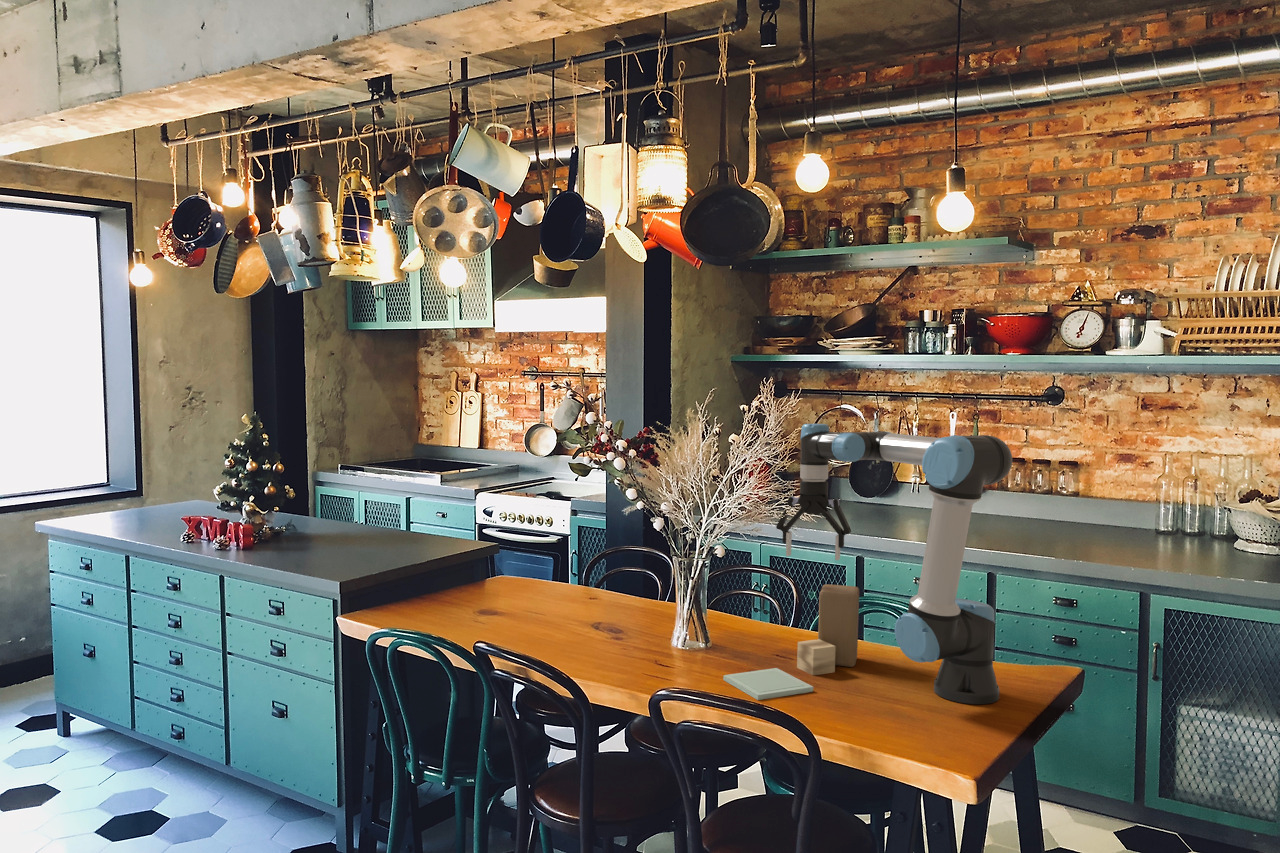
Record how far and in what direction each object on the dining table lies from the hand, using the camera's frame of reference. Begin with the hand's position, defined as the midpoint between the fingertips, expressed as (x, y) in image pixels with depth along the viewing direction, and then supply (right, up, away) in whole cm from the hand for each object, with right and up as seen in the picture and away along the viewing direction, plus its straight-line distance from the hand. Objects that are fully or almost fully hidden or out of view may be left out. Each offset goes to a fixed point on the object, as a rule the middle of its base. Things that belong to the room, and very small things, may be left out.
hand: (812, 557), depth 257 cm
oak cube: (-1, -28, -10) cm, 30 cm away
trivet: (-16, -29, -24) cm, 40 cm away
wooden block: (+6, -28, -2) cm, 29 cm away
